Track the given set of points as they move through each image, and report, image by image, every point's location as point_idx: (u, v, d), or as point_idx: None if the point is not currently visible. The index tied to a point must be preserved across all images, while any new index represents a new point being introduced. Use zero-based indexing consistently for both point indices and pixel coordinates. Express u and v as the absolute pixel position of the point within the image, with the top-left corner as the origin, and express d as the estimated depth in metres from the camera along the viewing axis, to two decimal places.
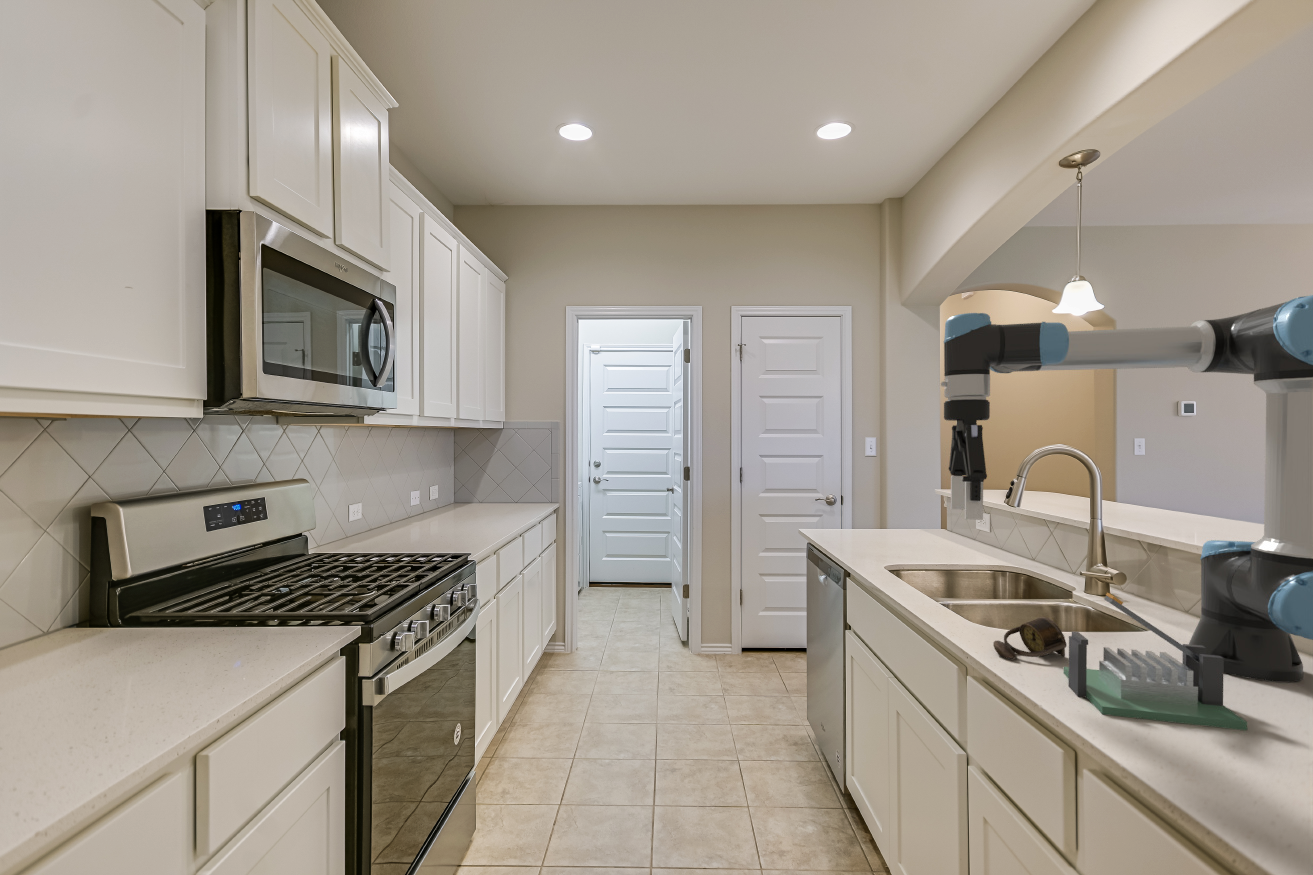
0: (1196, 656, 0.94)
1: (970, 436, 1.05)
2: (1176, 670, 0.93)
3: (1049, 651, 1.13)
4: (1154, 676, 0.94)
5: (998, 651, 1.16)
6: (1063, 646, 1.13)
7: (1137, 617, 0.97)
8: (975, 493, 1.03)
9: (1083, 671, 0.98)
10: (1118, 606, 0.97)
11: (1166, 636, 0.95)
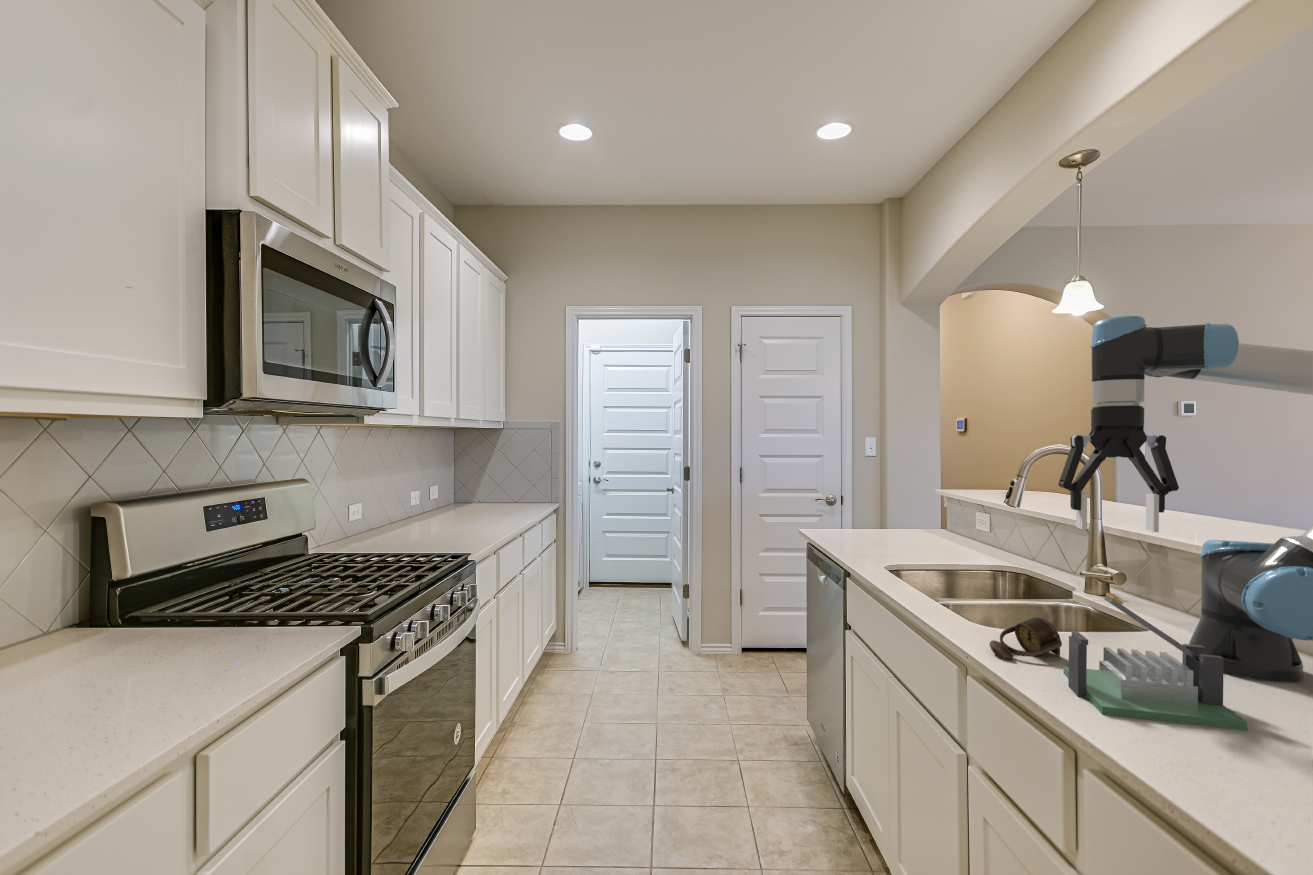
0: (1196, 656, 0.94)
1: (1072, 446, 1.10)
2: (1176, 670, 0.93)
3: (1045, 650, 1.13)
4: (1154, 676, 0.94)
5: (995, 651, 1.15)
6: (1059, 645, 1.14)
7: (1137, 617, 0.97)
8: (1071, 502, 1.09)
9: (1083, 671, 0.98)
10: (1118, 606, 0.97)
11: (1166, 636, 0.95)
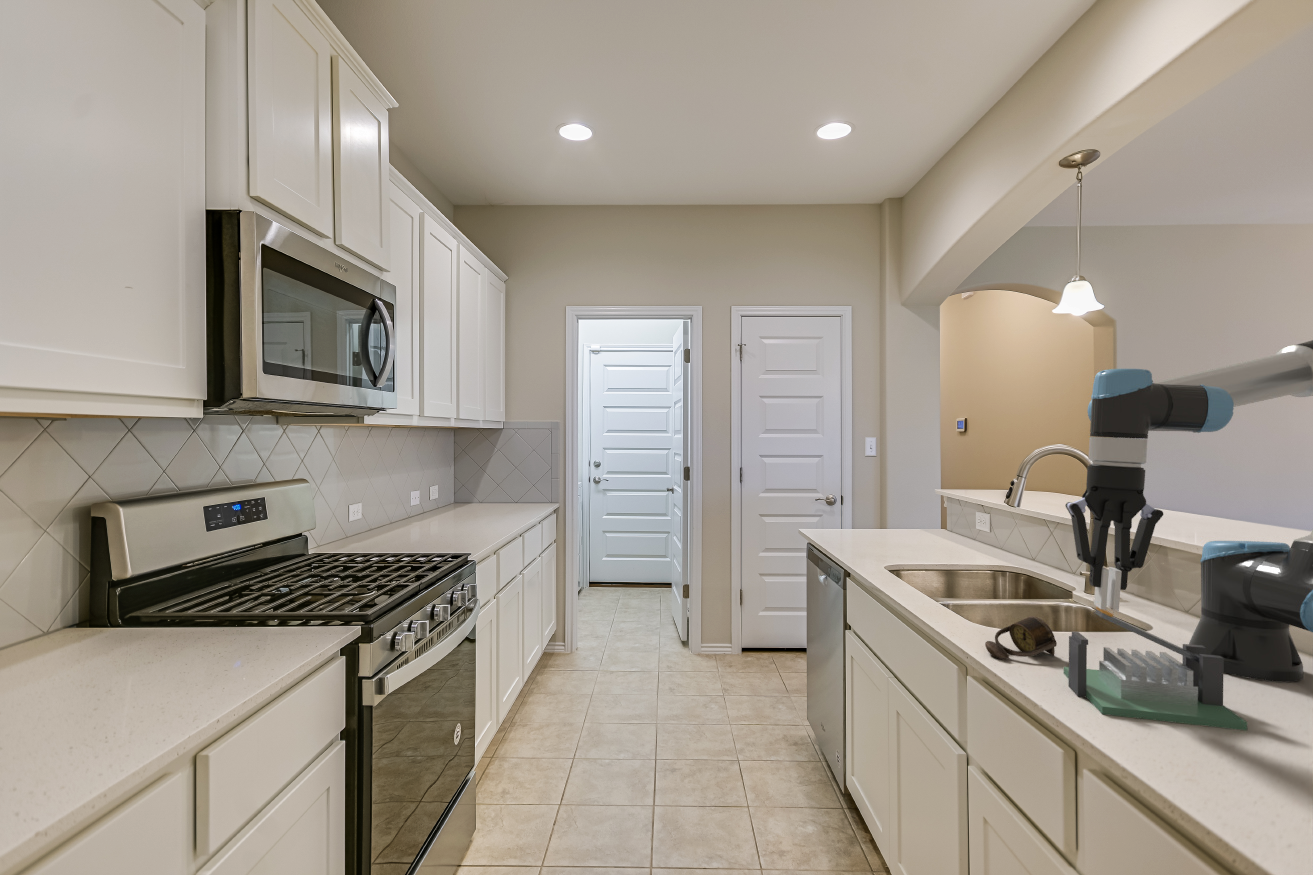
0: (1195, 657, 0.94)
1: (1071, 515, 1.00)
2: (1176, 670, 0.93)
3: (1040, 650, 1.13)
4: (1154, 676, 0.94)
5: (991, 651, 1.15)
6: (1053, 645, 1.14)
7: (1130, 627, 0.97)
8: (1091, 577, 0.99)
9: (1083, 671, 0.98)
10: (1109, 619, 0.98)
11: (1162, 641, 0.96)
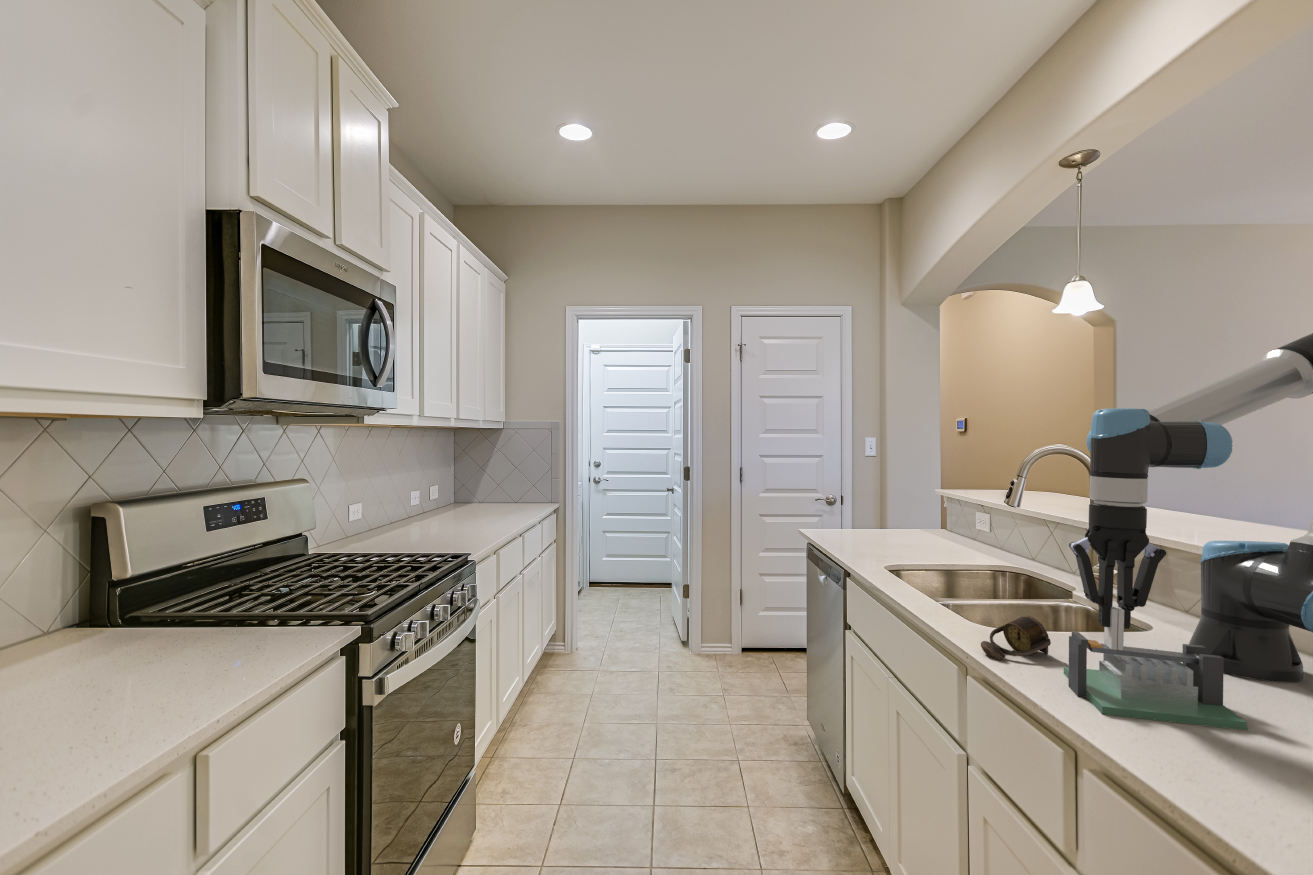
0: (1194, 660, 0.95)
1: (1076, 555, 1.00)
2: (1176, 670, 0.93)
3: (1036, 650, 1.14)
4: (1154, 676, 0.94)
5: (987, 652, 1.15)
6: (1048, 644, 1.14)
7: (1122, 652, 0.97)
8: (1100, 617, 0.99)
9: (1083, 671, 0.98)
10: (1100, 651, 0.98)
11: (1157, 655, 0.96)
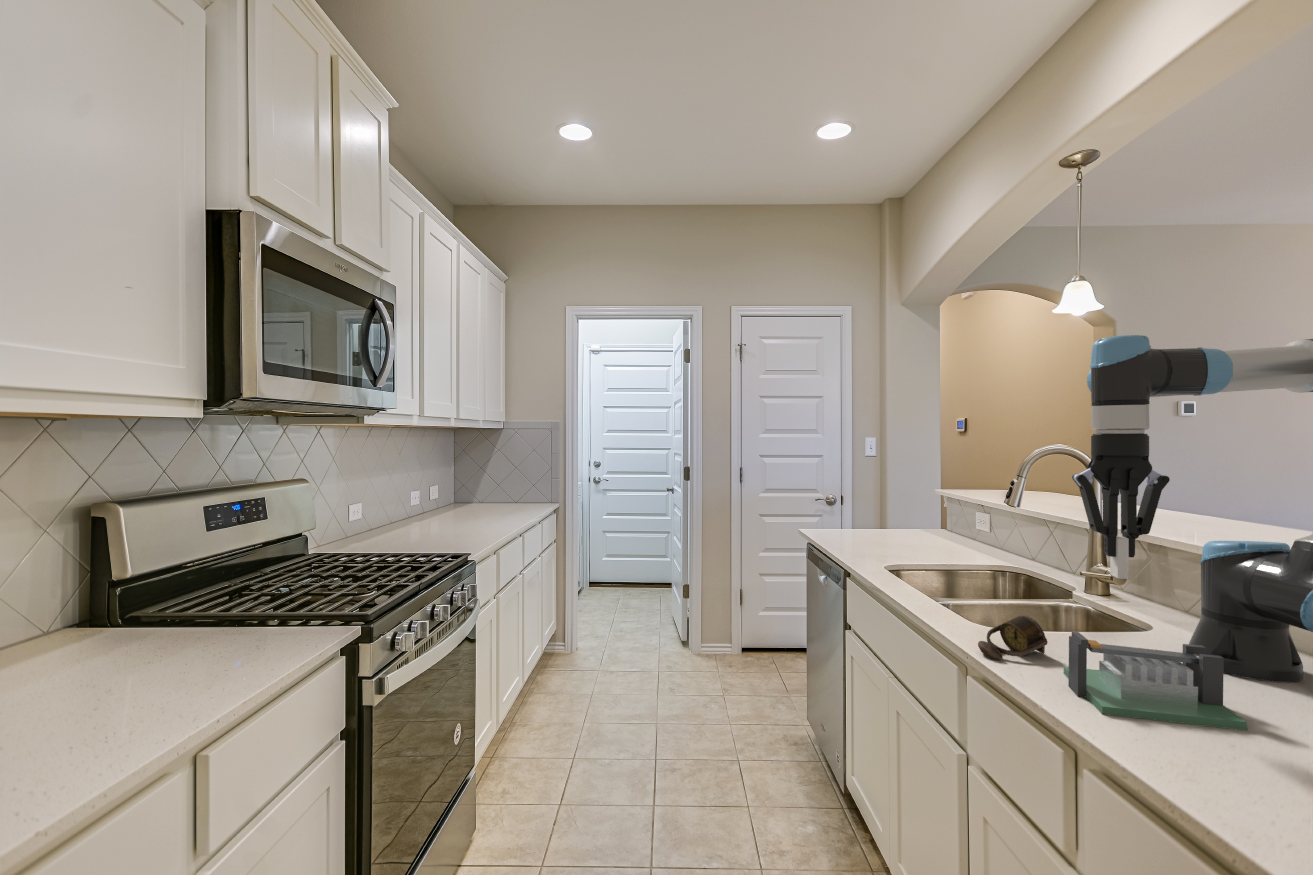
0: (1194, 660, 0.95)
1: (1079, 486, 1.00)
2: (1176, 670, 0.93)
3: (1033, 649, 1.14)
4: (1154, 676, 0.94)
5: (984, 652, 1.15)
6: (1044, 643, 1.15)
7: (1122, 652, 0.97)
8: (1105, 547, 0.99)
9: (1083, 671, 0.98)
10: (1100, 651, 0.98)
11: (1157, 656, 0.96)
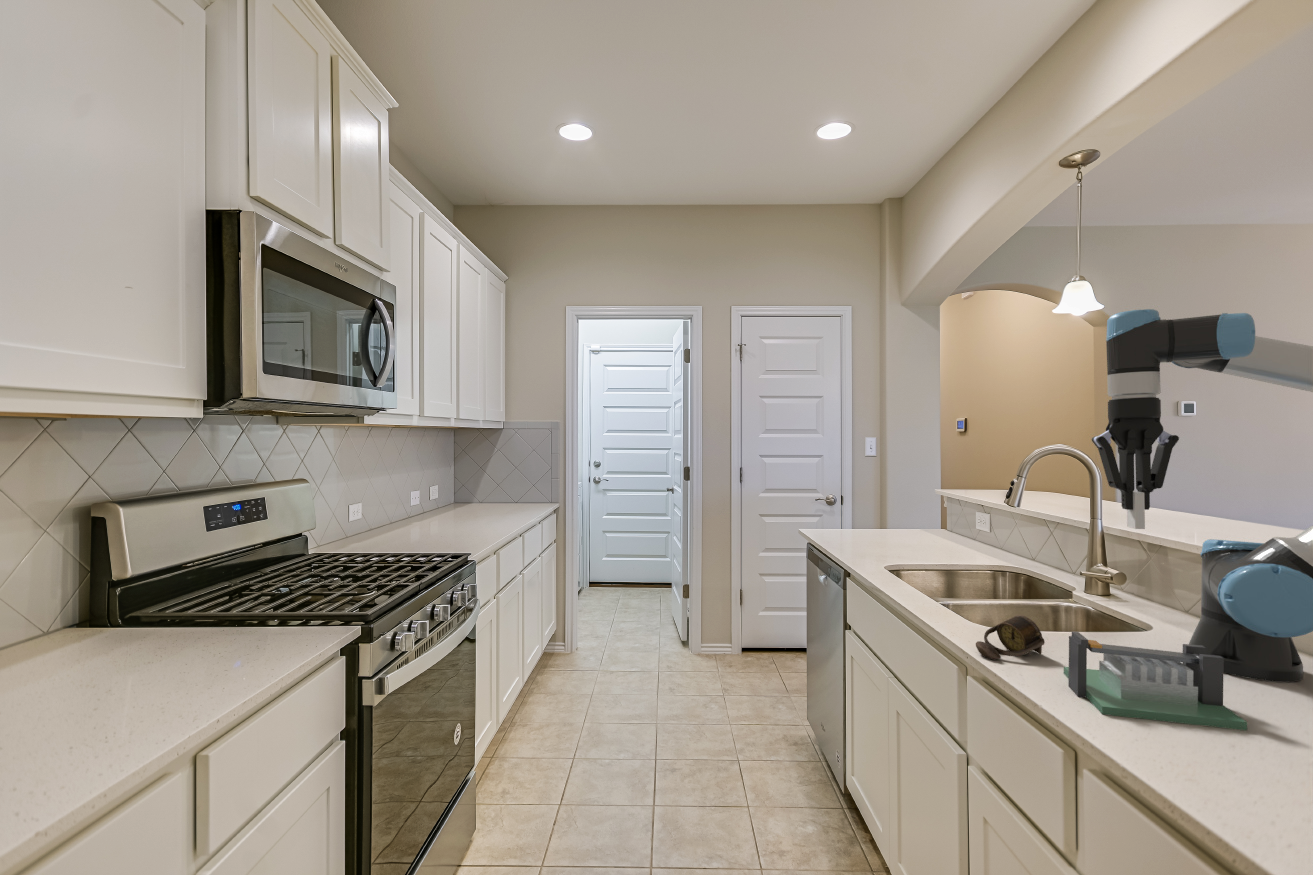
0: (1194, 660, 0.95)
1: (1098, 448, 1.11)
2: (1176, 670, 0.93)
3: (1030, 649, 1.14)
4: (1154, 676, 0.94)
5: (982, 652, 1.15)
6: (1042, 643, 1.15)
7: (1122, 652, 0.97)
8: (1123, 502, 1.09)
9: (1083, 671, 0.98)
10: (1100, 651, 0.98)
11: (1157, 656, 0.96)
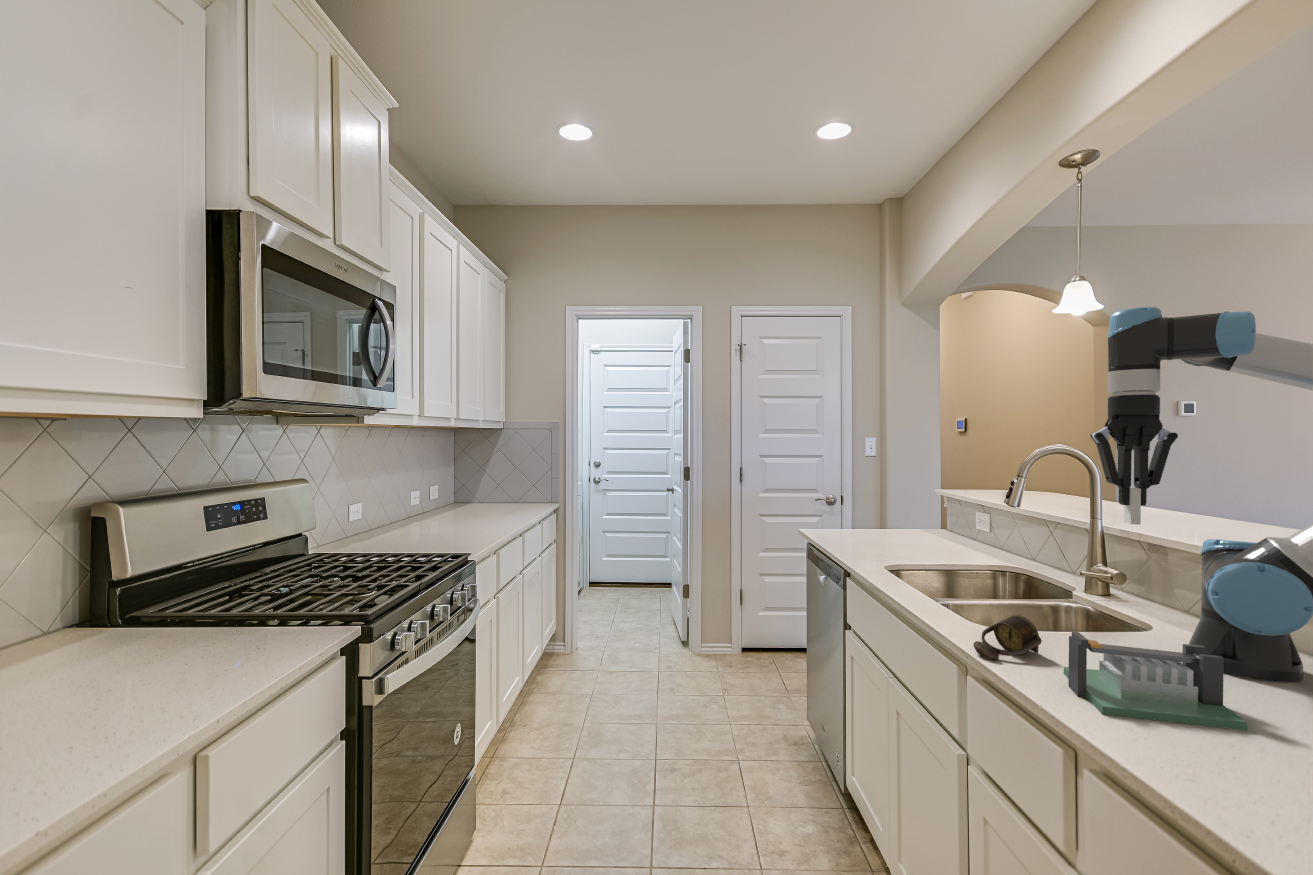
0: (1194, 660, 0.95)
1: (1097, 443, 1.12)
2: (1176, 670, 0.93)
3: (1028, 649, 1.14)
4: (1154, 676, 0.94)
5: (980, 652, 1.15)
6: (1039, 643, 1.15)
7: (1122, 652, 0.97)
8: (1120, 497, 1.11)
9: (1083, 671, 0.98)
10: (1100, 651, 0.98)
11: (1157, 656, 0.96)
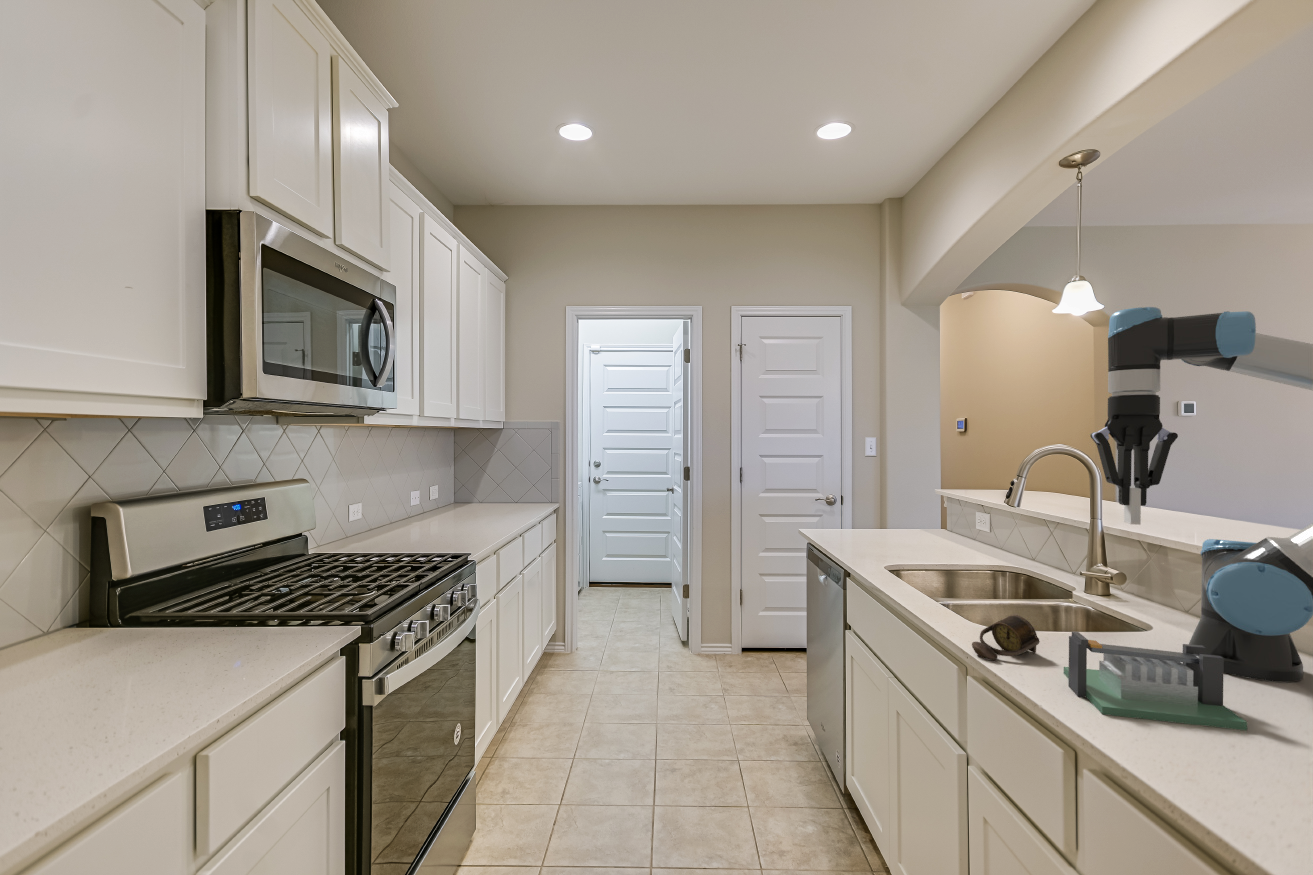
0: (1194, 660, 0.95)
1: (1097, 443, 1.12)
2: (1176, 670, 0.93)
3: (1026, 649, 1.14)
4: (1154, 676, 0.94)
5: (979, 652, 1.15)
6: (1037, 643, 1.15)
7: (1122, 652, 0.97)
8: (1120, 497, 1.11)
9: (1083, 671, 0.98)
10: (1100, 651, 0.98)
11: (1157, 656, 0.96)
